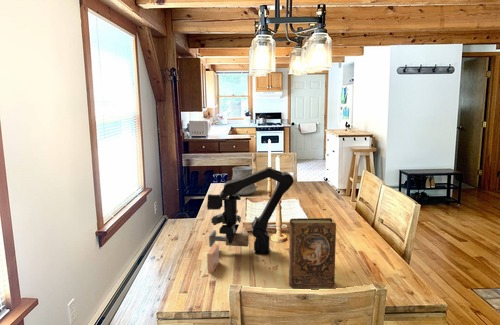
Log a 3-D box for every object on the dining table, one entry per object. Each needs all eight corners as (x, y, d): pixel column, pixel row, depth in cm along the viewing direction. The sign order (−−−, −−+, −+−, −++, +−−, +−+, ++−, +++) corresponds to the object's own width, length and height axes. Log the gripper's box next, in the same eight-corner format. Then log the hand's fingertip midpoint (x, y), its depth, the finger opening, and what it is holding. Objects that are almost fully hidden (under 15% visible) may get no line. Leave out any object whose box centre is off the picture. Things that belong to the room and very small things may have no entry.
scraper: (249, 242, 172) (249, 231, 171) (246, 248, 164) (246, 238, 163) (213, 240, 174) (213, 230, 174) (209, 246, 167) (209, 236, 166)
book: (290, 288, 137) (290, 223, 133) (288, 281, 142) (288, 218, 138) (334, 287, 137) (336, 222, 133) (330, 280, 143) (332, 217, 139)
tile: (219, 262, 160) (218, 244, 158) (213, 272, 150) (212, 253, 148) (213, 261, 160) (213, 244, 159) (207, 272, 150) (206, 253, 149)
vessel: (248, 199, 263) (248, 171, 260) (223, 195, 275) (222, 168, 272) (263, 192, 282) (263, 166, 278) (239, 189, 293) (239, 164, 290)
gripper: (218, 202, 177) (218, 234, 179) (207, 214, 159) (208, 249, 161) (241, 203, 175) (241, 235, 178) (232, 215, 157) (233, 250, 159)
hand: (230, 242), depth 169 cm, fingers closed on scraper, 3 cm apart
